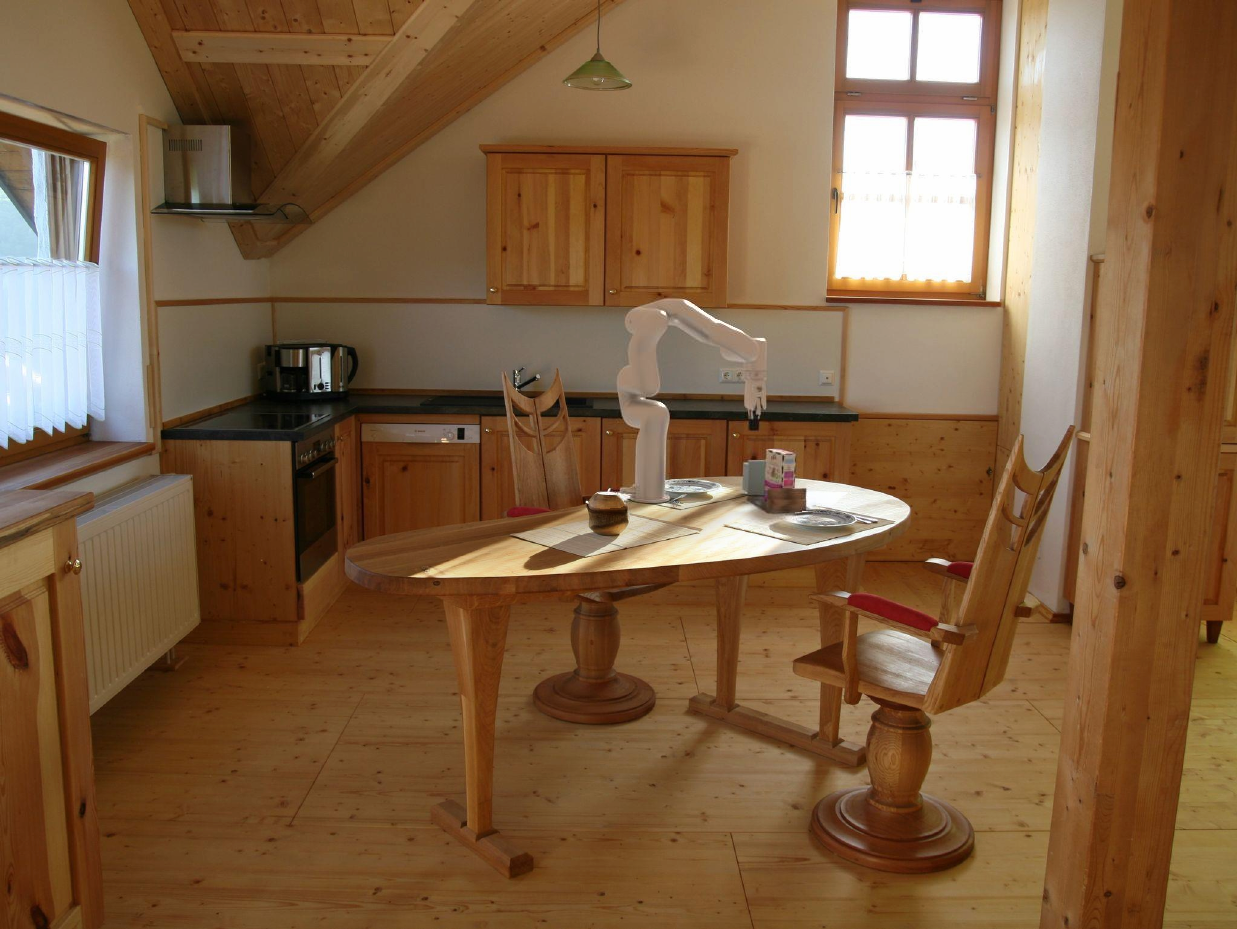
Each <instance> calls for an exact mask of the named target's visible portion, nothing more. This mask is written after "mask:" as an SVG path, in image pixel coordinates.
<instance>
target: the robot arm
mask: <svg viewBox="0 0 1237 929" xmlns="http://www.w3.org/2000/svg"><path fill="white" fill-rule="evenodd" d="M624 325H625V328H626V330H627V331H628V332H629V333H631V334H632V336H631V339H630V341H629V344H628V348H627V354H628V357H627V358H628V363H629V364H628V365H625V366H623V367H622V368H621V369H620V370H619V373H618V375H617V378H616V389H617V395H618V396H617V397H618V401H619V407H620V413H621V417H622V418H623V421H624V422H625V423H626V425H628V426H630V427H632V428H635V429H639V431H638V435H637V438H636V441H635V442H636V443H635V464H634V465H635V470H634V471H635V474H634V475H635V477H634V482H635V483H633V484H632V486H630V487H620V488H619V491H620V492H619V493H620V494H621V495H623V494H625V495H630V496H629V499H630V500H631V501H632V502H636V503H640V504H641V503H643V504H660V503H666V502H668V501H671V500H670V499H671V497H670V495H669V494H666V471H667V470H666V469H667V465H666V463H667V461H666V460H667V457H666V456H667V436H668V431H669V430H668V429H669V425H670V419H671V418H670V412H669V409H668V408H667V406H666V405H665V404H663V403H662V402H660V401H657V400H653V399H646V398H650V397H653V396H656V395H657V394H658V393H659V391H660V389H661V382H660V380H661V378H660V374H659V368H658V361H657V353H656V351H657V349H656V348H657V345H658V342H659V340H660V338H661V337H662V336H663V334H665V332H666V330H667V329H668V326H675V327H676V328H678V329H680V330H682V331H684V332H685V333H686V334H688V335H689V336H691V337H693V338H694V339H695V340H698V341H699V342H701V343H704V344H707V345H711V346H714V347H718V348H719V352H720V355H721V357H723V358H724V359H725V360H727V361H730V362H740V363H743V378H742V379H743V381H744V396H743V399H744V400H743V401H744V404H743V405H744V408H746V409H747V411H748V431H751V432H756V431H757V432H758V431H760V416H761V413H762V411H766V409H767V392H766V391H767V390H766V388H767V387H766V381H767V363H768V362H767V360H768V359H767V356H768V354H767V351H768V345H767V344H768V342H767V340H766V339H765V338H763V337H750V336H749V335H748V334H746V333H745V332H743V331H742V330H740V329H738V328H736V327H733V326H732V325H729V324H727V323H725V322H723V321H721V320H718V319H715V318H714V317H713V316H711V315H709V314H708V313H706V312H705V311H703V310H702V309H700V308H699V307H698V306H696V305H695V304H693V303H691V302H690V301H689V300H686V299H683V298H663V299H660V300H656V301H653V302H651V303H647V304H644V305H640V306H637V307H634V308H632V309H630V310H629V311H628V312H627V314H626V316H625V319H624Z"/></svg>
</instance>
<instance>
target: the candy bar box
mask: <svg viewBox="0 0 1237 929" xmlns="http://www.w3.org/2000/svg"><path fill="white" fill-rule="evenodd" d="M765 460H766V466H765V490H764V495H763V497H764V500H765V501H767V489H771V488H796V471H797V470H796V469H797V468H796V467H797V453H795V452H791V451H788V450H784V449H782V448H781V449H780V448H769V449H768V448H767V449H765Z"/></svg>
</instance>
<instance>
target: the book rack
mask: <svg viewBox="0 0 1237 929" xmlns="http://www.w3.org/2000/svg"><path fill="white" fill-rule="evenodd" d="M746 500H747V501H748V502H750V503H751V504H753V505H754V506H755V507H758V508H759V509H761V510H762V511H764V512H765V513H766V514H768V515H773V514H776V515H777V514H796V513H795V512H802V511H813V512H814V510H813V509H811V508H810V507H809V506H807V488H806V487H795V488H771V489H767V501H765V500H764V496H747V497H746Z"/></svg>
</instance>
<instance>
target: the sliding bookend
mask: <svg viewBox="0 0 1237 929" xmlns="http://www.w3.org/2000/svg"><path fill="white" fill-rule="evenodd" d="M765 466H766V459H763V460H762V459H761V460H759V459H757V460H753V459H752V460H747V462H743V464H742V490H743V491H744V492H745V493H746V495H747V496H750V495H751V496H756V495H760V496H761V495H763V496H764V490H765Z"/></svg>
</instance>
